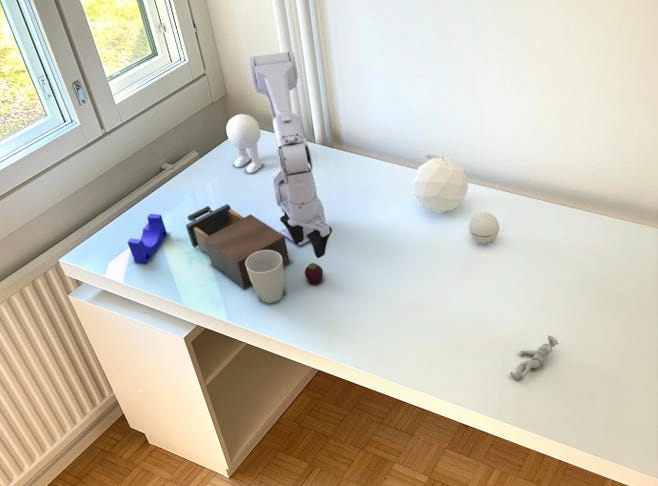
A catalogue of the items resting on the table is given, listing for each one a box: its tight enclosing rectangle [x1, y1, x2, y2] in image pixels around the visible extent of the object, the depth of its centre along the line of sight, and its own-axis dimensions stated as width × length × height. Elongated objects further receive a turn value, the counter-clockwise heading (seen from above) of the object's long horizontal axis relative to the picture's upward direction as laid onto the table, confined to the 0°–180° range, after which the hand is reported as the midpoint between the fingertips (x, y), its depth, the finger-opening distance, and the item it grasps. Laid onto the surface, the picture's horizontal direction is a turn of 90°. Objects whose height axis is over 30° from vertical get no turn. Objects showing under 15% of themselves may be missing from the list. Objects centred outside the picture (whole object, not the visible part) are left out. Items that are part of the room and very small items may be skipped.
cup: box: [245, 250, 285, 304], centre depth 166 cm, size 8×8×10 cm
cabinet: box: [205, 214, 290, 290], centre depth 175 cm, size 13×13×8 cm
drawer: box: [185, 203, 245, 255], centre depth 181 cm, size 17×12×6 cm
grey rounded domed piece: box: [468, 211, 503, 244], centre depth 179 cm, size 10×7×7 cm
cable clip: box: [127, 213, 168, 264], centre depth 182 cm, size 12×4×6 cm, turn 168°
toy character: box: [226, 113, 263, 174], centre depth 205 cm, size 9×9×15 cm
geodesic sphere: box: [412, 154, 469, 214], centre depth 187 cm, size 15×14×14 cm
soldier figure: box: [509, 334, 560, 380], centre depth 150 cm, size 8×5×12 cm
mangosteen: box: [304, 262, 324, 286], centre depth 171 cm, size 4×4×4 cm
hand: (309, 248), depth 166 cm, fingers open, 7 cm apart
